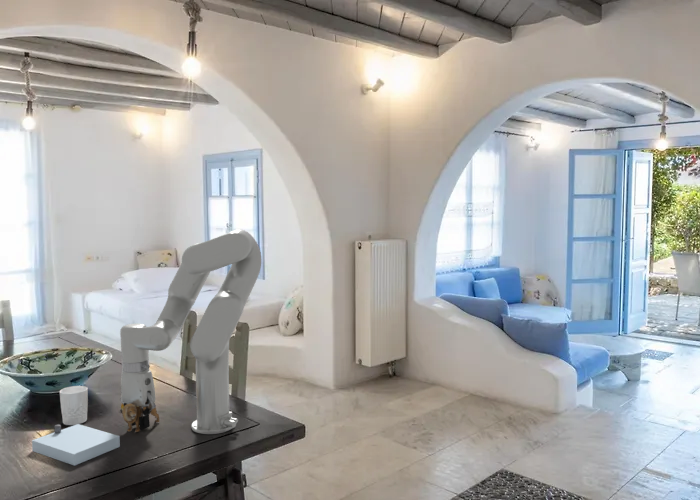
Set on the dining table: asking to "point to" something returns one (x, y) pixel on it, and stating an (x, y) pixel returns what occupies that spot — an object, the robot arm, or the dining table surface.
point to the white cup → (74, 404)
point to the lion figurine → (135, 415)
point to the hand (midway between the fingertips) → (138, 426)
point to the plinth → (75, 444)
